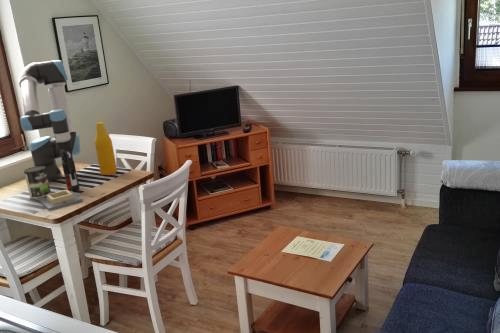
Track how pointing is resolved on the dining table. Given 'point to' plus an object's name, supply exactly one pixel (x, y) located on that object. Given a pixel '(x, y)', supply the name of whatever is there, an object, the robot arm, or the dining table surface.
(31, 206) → the dining table surface
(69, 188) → the deodorant
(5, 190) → the dining table surface
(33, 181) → the coffee can
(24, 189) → the dining table surface
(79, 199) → the hub board
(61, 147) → the robot arm
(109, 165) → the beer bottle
